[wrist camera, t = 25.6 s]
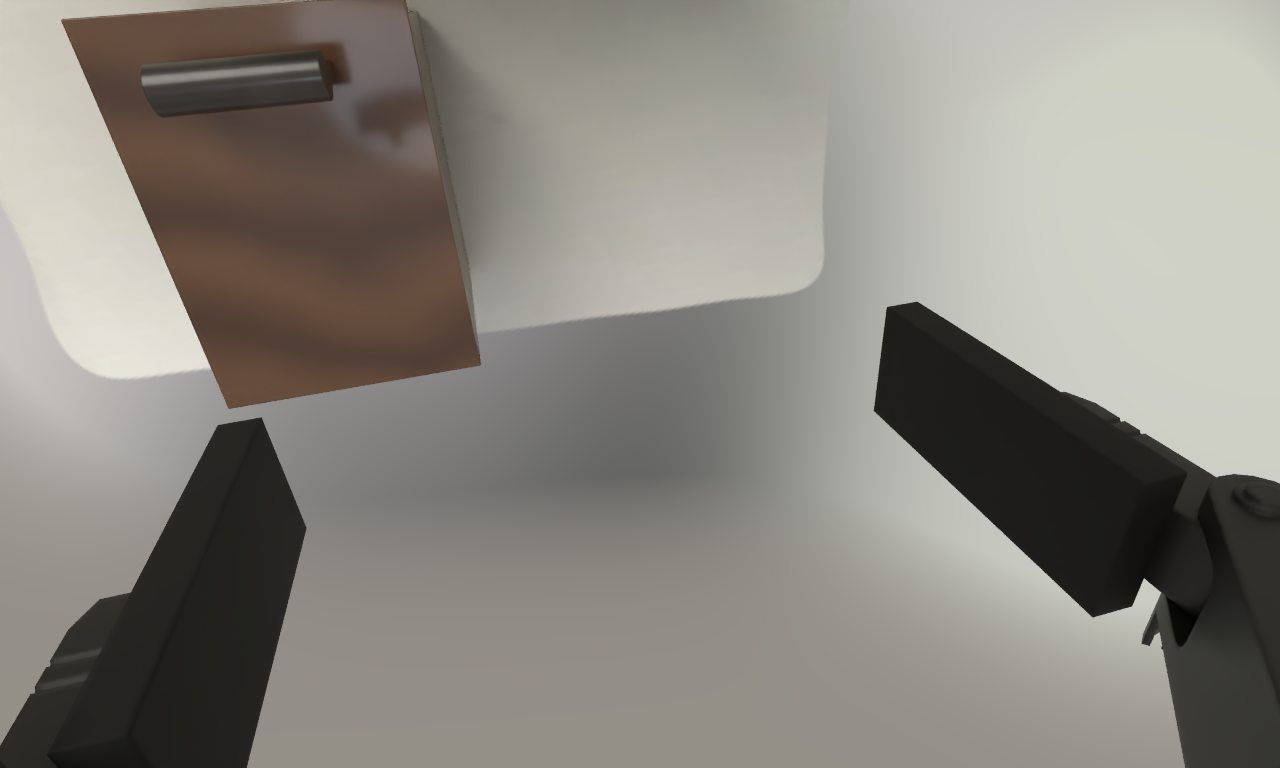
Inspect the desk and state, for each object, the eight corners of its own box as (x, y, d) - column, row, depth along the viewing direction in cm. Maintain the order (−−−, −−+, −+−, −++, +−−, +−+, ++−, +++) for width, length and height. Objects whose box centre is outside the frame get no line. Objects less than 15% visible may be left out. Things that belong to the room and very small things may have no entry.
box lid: (69, 18, 27) (-1, 22, 22) (404, -6, 29) (399, -7, 25) (232, 401, 35) (204, 456, 31) (480, 358, 38) (485, 404, 33)
